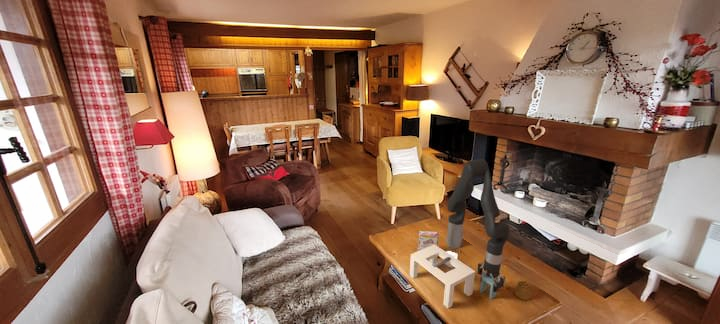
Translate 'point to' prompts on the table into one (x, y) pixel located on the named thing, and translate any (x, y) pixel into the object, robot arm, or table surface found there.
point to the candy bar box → (427, 239)
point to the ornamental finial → (523, 290)
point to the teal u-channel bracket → (484, 286)
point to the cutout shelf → (447, 278)
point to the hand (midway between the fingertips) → (488, 287)
